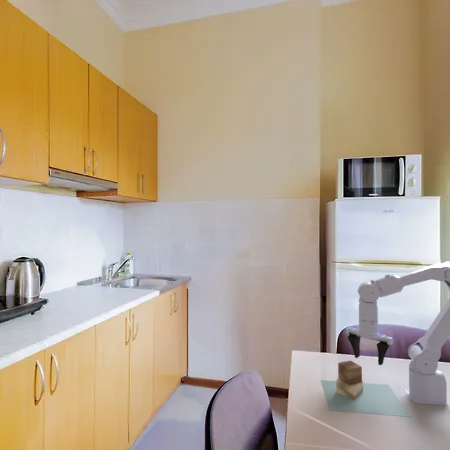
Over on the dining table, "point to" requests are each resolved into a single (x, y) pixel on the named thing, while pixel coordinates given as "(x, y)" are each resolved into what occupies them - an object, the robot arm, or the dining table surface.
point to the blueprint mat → (365, 400)
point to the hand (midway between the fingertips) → (368, 360)
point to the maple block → (349, 389)
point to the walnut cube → (350, 372)
